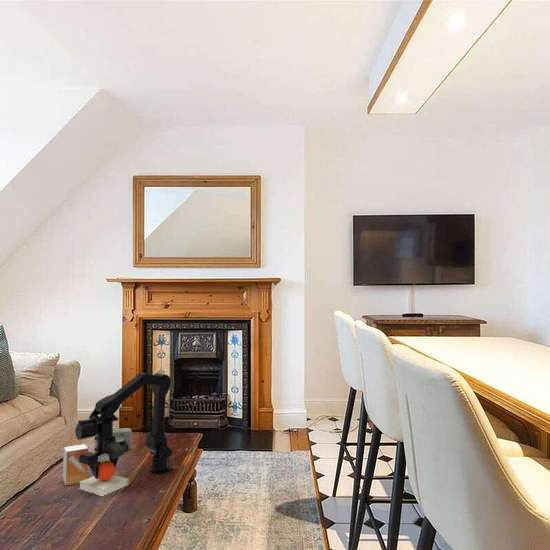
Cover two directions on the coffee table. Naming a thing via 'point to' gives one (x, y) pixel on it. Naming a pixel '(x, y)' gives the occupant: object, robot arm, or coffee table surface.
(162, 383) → the robot arm
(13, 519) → the coffee table surface
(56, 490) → the coffee table surface
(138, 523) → the coffee table surface
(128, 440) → the digital clock
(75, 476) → the small box
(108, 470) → the clementine
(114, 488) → the book
